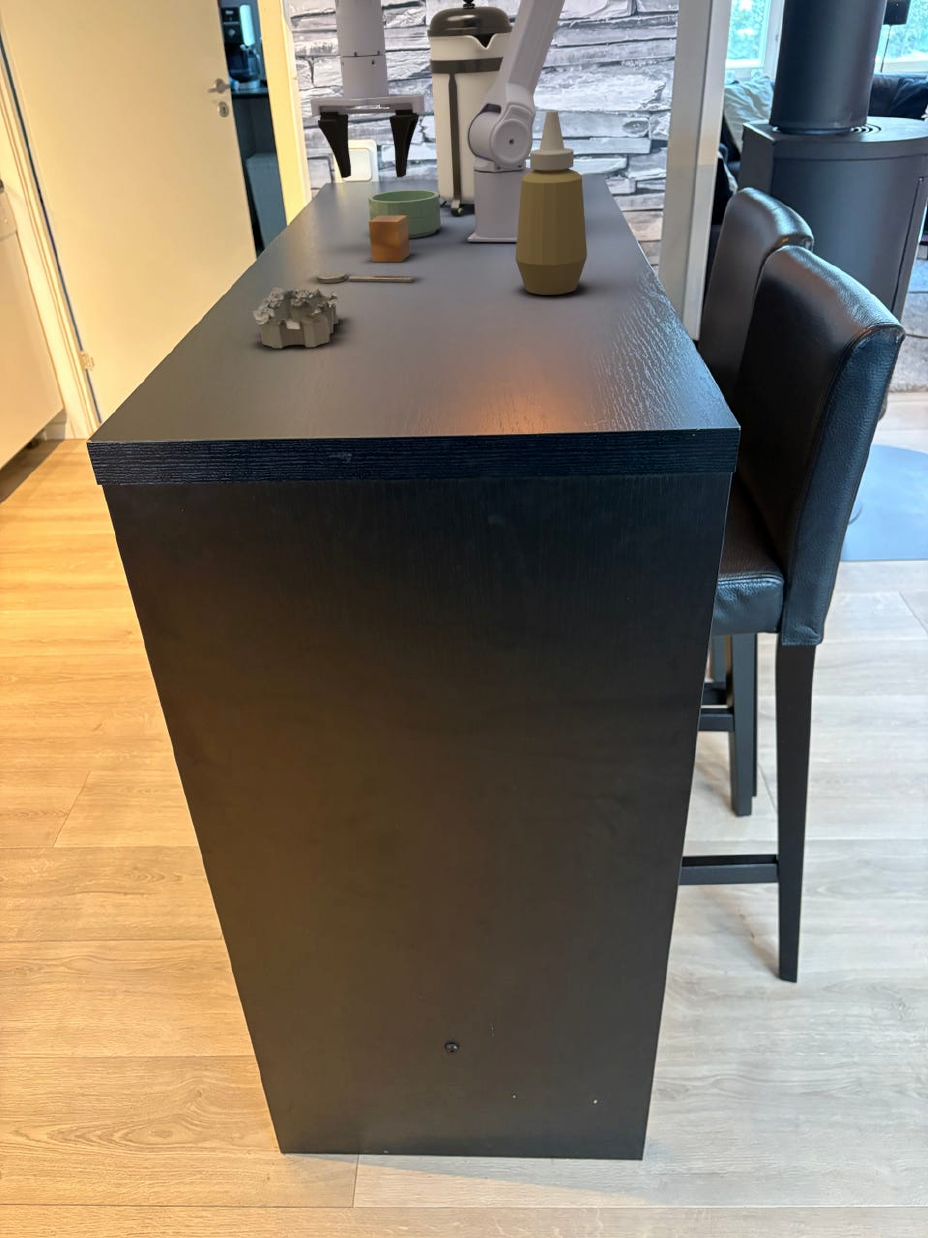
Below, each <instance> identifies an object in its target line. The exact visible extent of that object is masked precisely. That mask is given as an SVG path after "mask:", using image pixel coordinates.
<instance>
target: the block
mask: <svg viewBox="0 0 928 1238" xmlns="http://www.w3.org/2000/svg"><path fill="white" fill-rule="evenodd" d="M368 230H369V231H368V232H369V241H370V251H371V262H373V263H401V262H403V261H404V260H406V259H407V258H408V257H409V256H411V253H410V238H409V237H408V224H407V216H406V215H379V216H377V217H375V218H374V219H372V220H368Z"/></svg>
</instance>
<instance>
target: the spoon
mask: <svg viewBox="0 0 928 1238" xmlns="http://www.w3.org/2000/svg"><path fill="white" fill-rule="evenodd" d="M316 280H317V282H318V283H321V284H336V283H341V282H344V281H346V280H347V273H346V272H345V271H339V270H334V271H333V270H332V271H325V272H320V273H318V274H316ZM414 280H415V277H414V276H411V275H409V276H405V275H350V276H349V277H348V281H349V282H375V283H376V282H379V283H381V282H382V283H412V282H413V281H414Z"/></svg>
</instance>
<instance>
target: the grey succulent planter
mask: <svg viewBox="0 0 928 1238" xmlns="http://www.w3.org/2000/svg"><path fill="white" fill-rule="evenodd" d="M338 302H339V298H338V295H337V293H336V292H335V291H331V292H330V294H329V295H325V294H323V293H322V292H321V291H320V289H319V288H317V289H315V290H312V291H311V290H309V289H297V288H296V287H294V288H293V289H292V290H290V289H284V288H282V287H277V286H273V287H272V290H271V292H270V294H269V296H268V297H266V298H264V299H263V300H262V302H261V304H260V305H259V306H258V308H257V309H256V310H253V311H252V315H253V316H254V319H255V321H256V324H258V325H259V329H260V337H261V343H262V345H263V346H267V347H272V349H283V348H284V347H287V346H295V345H296V346H297V345H301V346H305V348H315V347H317V346H319V345H323V344H327V343H329V342H330V341H331V340H330V334H333V333H334V325H338V323H339V319H338V315H337V303H338Z"/></svg>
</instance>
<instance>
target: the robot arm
mask: <svg viewBox="0 0 928 1238" xmlns="http://www.w3.org/2000/svg"><path fill="white" fill-rule="evenodd" d="M565 2H566V0H520V3H519V7H518V10H517V13H516V16H515V19H514V23H513V29H512V32H511V35H510V38H509V41H508V44H507V47H506V51H505V54H504V57H503V60H502V63H501V66H500V70H499V73H498V76H497V79H496V82H495V84H494V85H493V86H492V88H491V89H490V90H489V91H488V93H487V94H486V96H485V97H484V100H483V103H482V106H481V108H480V110H479V111H478V113H477V114H476V115H475V116H474V117H473V118H472V120H471V121H470V123H469V125H468V128H467V136H466V138H467V144H468V147H469V149H470V151H471V152H472V154H473V155H474V156H475V162H474V164H473V169H474V170H473V173H474V201H475V204H474V226H475V231H474V232H473V233H472V234H471V235H469V236H468V237H467V242H469V243H470V242H472V243H475V242H477V243H483V242H484V243H517V234H518V221H519V208H520V196H521V183H522V178H523V177H524V176H525V175H526V174H527V173H529V172H531V171H534V169H531V168H530V167H527V161H526V160H527V159H528V157H530V152H531V151H532V149H533V143H534V135H533V134H534V133H533V129H534V128H533V127H534V126H533V125H534V123H535V119H536V117H537V109H536V105H535V99H534V95H535V92H536V89H537V86H538V82H539V80H540V77H541V75H542V71H543V68H544V64H545V62H546V59H547V56H548V53H549V51H550V46H551V45H552V42H553V41H552V40H553V38H554V35H555V32H556V29H557V26H558V24H559V20H560V17H561V14H562V11H563V8H564V5H565ZM334 5H335V6H334V7H335V13H334V14H335V25H336V35H337V45H338V54H339V64H340V74H341V84H342V92H343V95H341V96H340V95H339V96H323V97H322V96H321V97H313V98H310V99H309V101H310V109H311V110H310V111H311V116H312V117H319V119H318V120H317V125H318V128H319V130H320V131H321V133H322V134H323V136H324V137H325V139H326V142H327V143H328V145H329V147H330V149H331V152H332V154H333V156H334V159H335V161H336V164H337V167H338V171H339V175H340V178H341V179H347V178H349V177H351V176H352V165H351V158H350V157H351V156H350V148H349V118H350V117H349V115H370V114H372V115H373V114H375V115H376V114H393V115H391V116H389V125H390V127H391V128H390V129H391V135H392V139H393V146H394V161H395V162H394V163H395V165H394V166H395V167H394V168H395V174H396V178H403V177H405V176H407V169H408V159H409V153H410V148H411V144H412V140H413V137H414V135H415V131H416V128H417V126H418V123H419V120H420V115H419V114H421V113H424V112H425V111H426V110H425V108H426V107H425V94H423V93H412V94H411V93H410V94H409V93H407V94H405V93H404V94H402V93H400V94H399V93H398V94H396V93H394V94H392V93H391V94H390V89H389V88H390V87H389V77H388V76H389V75H388V65H387V54H386V53H387V51H386V38H385V27H384V26H385V25H384V14H383V8H382V0H334ZM369 106H370V107H371V106H379V108H356V107H369Z"/></svg>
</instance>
